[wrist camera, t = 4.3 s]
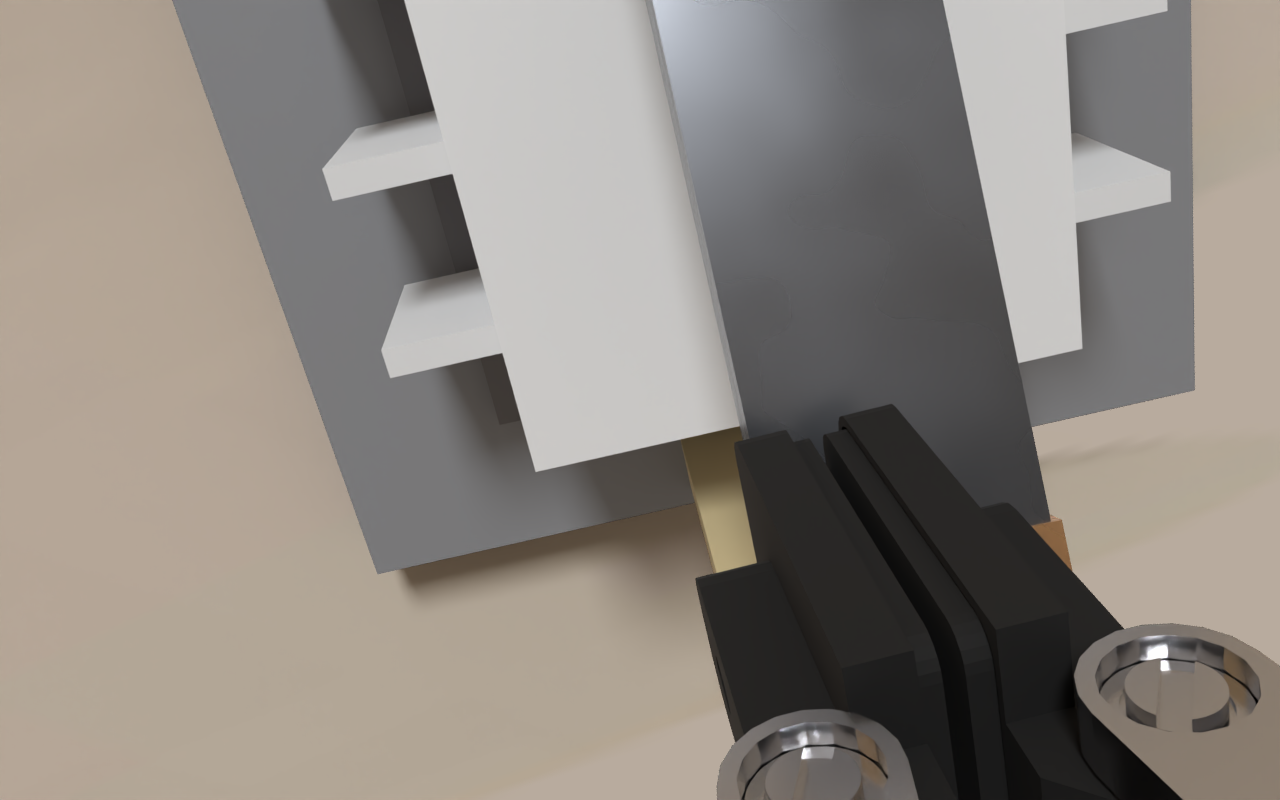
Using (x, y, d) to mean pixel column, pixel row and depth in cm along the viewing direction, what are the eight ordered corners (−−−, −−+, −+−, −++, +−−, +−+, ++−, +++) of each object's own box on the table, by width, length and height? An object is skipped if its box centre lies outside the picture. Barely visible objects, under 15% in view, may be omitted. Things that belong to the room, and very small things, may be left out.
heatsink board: (1132, -796, 18) (1596, -1351, 10) (1159, 364, 26) (1428, 560, 18) (11, -536, 18) (-395, -880, 10) (386, 539, 26) (320, 808, 18)
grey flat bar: (480, -611, 13) (459, -745, 11) (790, -684, 13) (812, -828, 11) (778, 723, 14) (796, 774, 12) (1069, 658, 14) (1125, 700, 12)
